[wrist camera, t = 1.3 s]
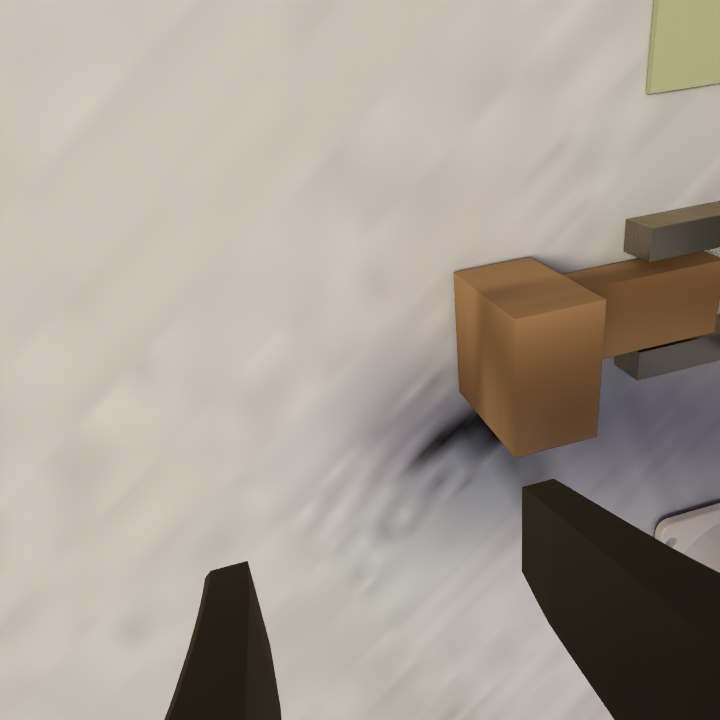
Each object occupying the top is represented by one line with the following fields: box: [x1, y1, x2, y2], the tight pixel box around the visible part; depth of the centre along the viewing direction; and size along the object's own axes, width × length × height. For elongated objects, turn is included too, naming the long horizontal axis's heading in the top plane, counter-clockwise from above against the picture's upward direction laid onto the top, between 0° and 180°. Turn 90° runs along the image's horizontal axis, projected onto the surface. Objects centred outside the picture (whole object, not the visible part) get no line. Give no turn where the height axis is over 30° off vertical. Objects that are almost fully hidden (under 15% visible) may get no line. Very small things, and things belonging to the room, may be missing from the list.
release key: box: [454, 251, 720, 458], centre depth 18 cm, size 4×8×4 cm, turn 97°
